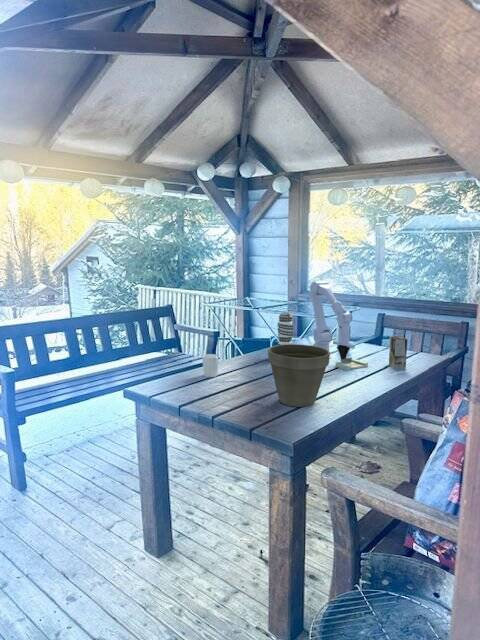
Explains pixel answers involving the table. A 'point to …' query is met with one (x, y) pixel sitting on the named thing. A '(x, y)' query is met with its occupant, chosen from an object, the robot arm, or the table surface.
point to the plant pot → (298, 372)
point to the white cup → (210, 365)
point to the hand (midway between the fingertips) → (343, 359)
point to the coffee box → (398, 352)
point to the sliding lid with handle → (352, 363)
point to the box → (347, 367)
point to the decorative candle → (285, 329)
